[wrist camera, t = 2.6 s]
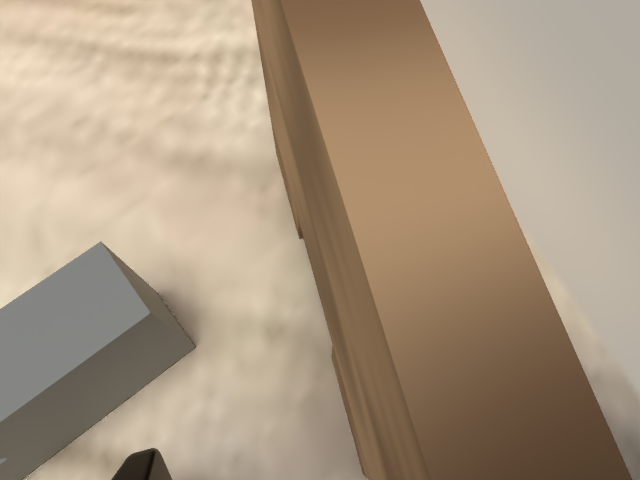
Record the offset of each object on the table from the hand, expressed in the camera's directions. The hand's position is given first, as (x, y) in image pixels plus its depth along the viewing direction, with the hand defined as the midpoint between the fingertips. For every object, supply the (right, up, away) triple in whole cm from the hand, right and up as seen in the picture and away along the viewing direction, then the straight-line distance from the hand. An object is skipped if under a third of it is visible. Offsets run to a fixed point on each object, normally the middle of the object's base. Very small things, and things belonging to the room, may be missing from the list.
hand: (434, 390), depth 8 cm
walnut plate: (-1, +1, +10) cm, 10 cm away
